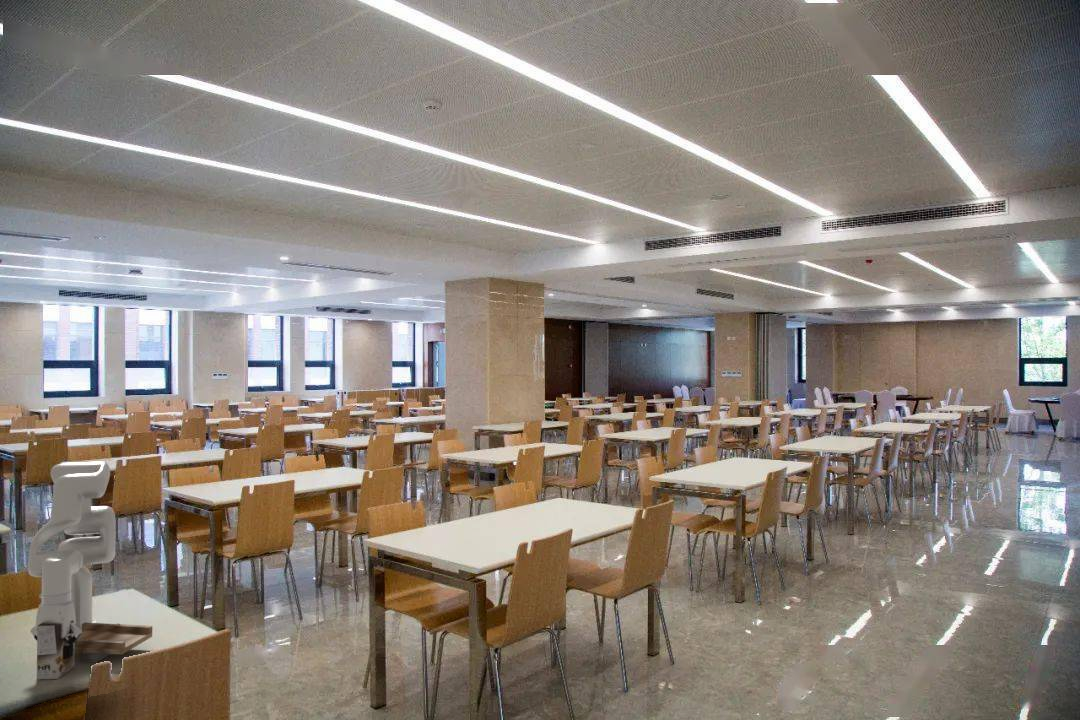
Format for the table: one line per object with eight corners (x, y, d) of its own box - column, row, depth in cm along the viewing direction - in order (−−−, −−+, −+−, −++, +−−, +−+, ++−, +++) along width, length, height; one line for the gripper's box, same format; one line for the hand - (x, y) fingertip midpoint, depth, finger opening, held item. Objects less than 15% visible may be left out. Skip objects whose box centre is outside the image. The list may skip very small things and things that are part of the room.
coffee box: (58, 679, 221) (58, 625, 221) (35, 679, 221) (36, 625, 221) (75, 666, 230) (75, 614, 230) (53, 667, 230) (53, 615, 230)
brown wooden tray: (50, 661, 234) (50, 638, 234) (85, 643, 249) (85, 621, 249) (121, 665, 231) (122, 642, 231) (152, 647, 246) (152, 625, 246)
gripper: (20, 600, 223) (19, 660, 223) (74, 603, 221) (73, 663, 221) (39, 593, 230) (39, 650, 230) (92, 595, 228) (91, 653, 228)
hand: (56, 656), depth 226 cm, fingers closed on coffee box, 7 cm apart
